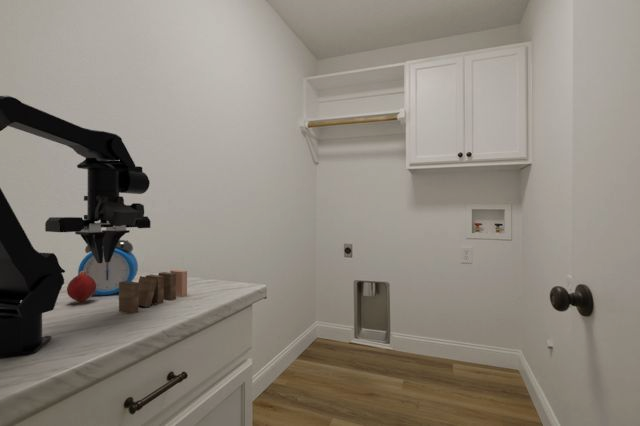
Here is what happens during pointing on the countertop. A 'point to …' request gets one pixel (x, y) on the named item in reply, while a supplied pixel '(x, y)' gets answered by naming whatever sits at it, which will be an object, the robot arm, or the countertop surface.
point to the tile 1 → (128, 297)
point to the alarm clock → (111, 268)
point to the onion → (81, 287)
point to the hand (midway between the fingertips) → (103, 262)
